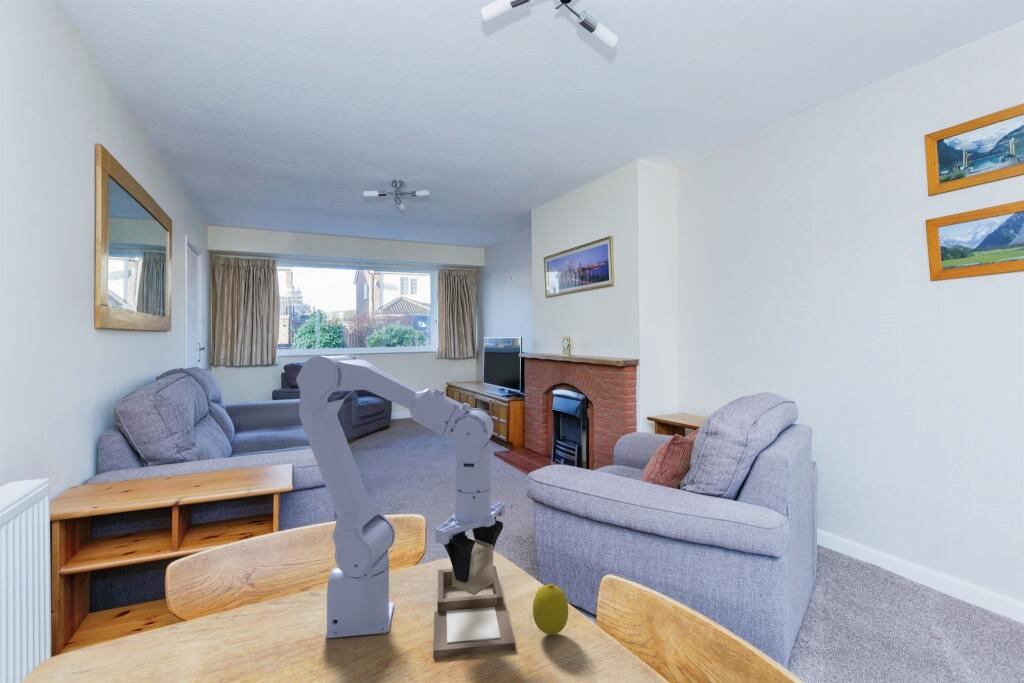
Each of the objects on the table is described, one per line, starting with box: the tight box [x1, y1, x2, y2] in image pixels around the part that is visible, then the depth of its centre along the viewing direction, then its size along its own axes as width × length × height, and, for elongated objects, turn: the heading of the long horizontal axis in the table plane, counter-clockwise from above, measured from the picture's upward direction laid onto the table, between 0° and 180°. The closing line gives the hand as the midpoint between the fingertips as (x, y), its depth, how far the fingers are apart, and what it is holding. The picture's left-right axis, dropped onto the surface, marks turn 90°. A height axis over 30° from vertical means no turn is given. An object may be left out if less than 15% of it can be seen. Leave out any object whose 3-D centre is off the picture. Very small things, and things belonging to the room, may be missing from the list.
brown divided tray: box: [432, 565, 516, 658], centre depth 78 cm, size 12×21×2 cm, turn 9°
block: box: [451, 537, 494, 596], centre depth 73 cm, size 5×5×6 cm
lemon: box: [532, 583, 569, 637], centre depth 72 cm, size 6×6×8 cm
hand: (472, 573), depth 73 cm, fingers closed on block, 5 cm apart
